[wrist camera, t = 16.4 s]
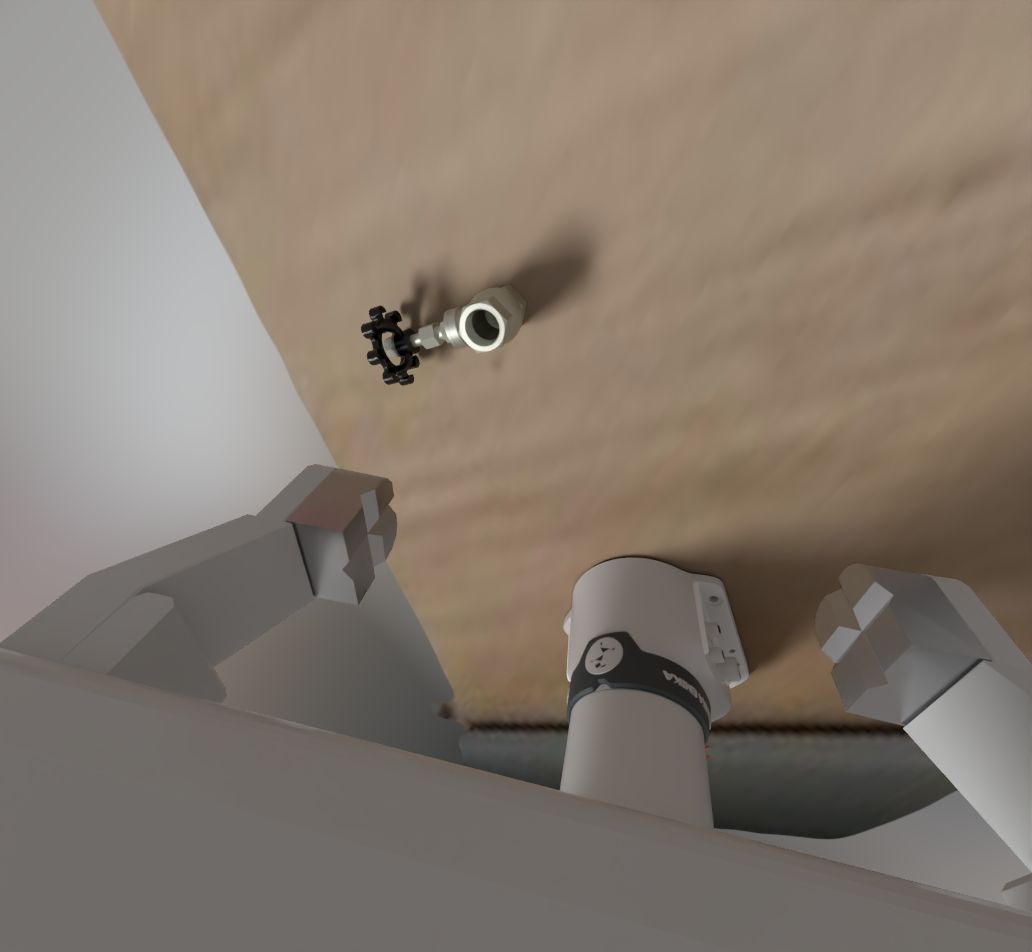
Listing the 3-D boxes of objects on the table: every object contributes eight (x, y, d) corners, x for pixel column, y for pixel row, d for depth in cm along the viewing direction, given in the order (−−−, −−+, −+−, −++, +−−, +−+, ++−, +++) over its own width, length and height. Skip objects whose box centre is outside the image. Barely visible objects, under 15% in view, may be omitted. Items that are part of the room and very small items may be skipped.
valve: (517, 257, 35) (389, 300, 39) (493, 269, 30) (348, 318, 34) (540, 341, 38) (419, 372, 42) (523, 366, 33) (385, 399, 37)
